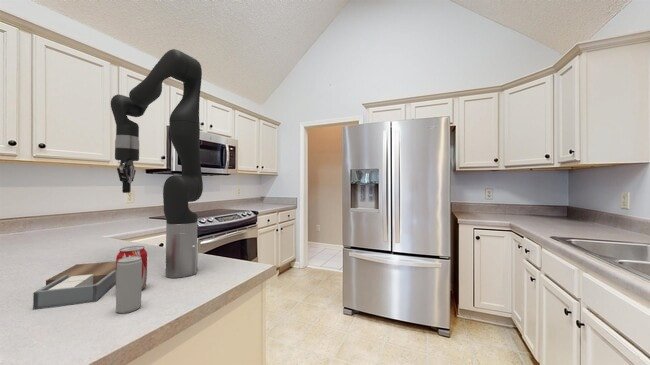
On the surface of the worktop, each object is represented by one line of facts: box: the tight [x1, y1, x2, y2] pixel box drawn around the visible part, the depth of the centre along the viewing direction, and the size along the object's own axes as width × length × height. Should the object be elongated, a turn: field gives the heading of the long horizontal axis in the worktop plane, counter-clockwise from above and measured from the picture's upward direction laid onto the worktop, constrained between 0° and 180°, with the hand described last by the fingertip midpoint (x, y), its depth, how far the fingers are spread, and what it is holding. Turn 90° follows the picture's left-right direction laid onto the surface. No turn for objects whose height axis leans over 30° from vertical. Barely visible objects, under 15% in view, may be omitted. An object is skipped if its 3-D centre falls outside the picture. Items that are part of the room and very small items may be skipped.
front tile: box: [48, 281, 84, 290], centre depth 67 cm, size 5×5×3 cm
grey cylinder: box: [115, 256, 142, 314], centre depth 61 cm, size 5×5×12 cm
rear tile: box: [61, 274, 93, 286], centre depth 72 cm, size 5×5×3 cm
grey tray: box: [32, 270, 116, 310], centre depth 69 cm, size 12×13×4 cm
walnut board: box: [45, 260, 116, 286], centre depth 82 cm, size 16×16×3 cm
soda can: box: [115, 245, 148, 291], centre depth 72 cm, size 7×7×12 cm
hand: (126, 192), depth 99 cm, fingers closed
